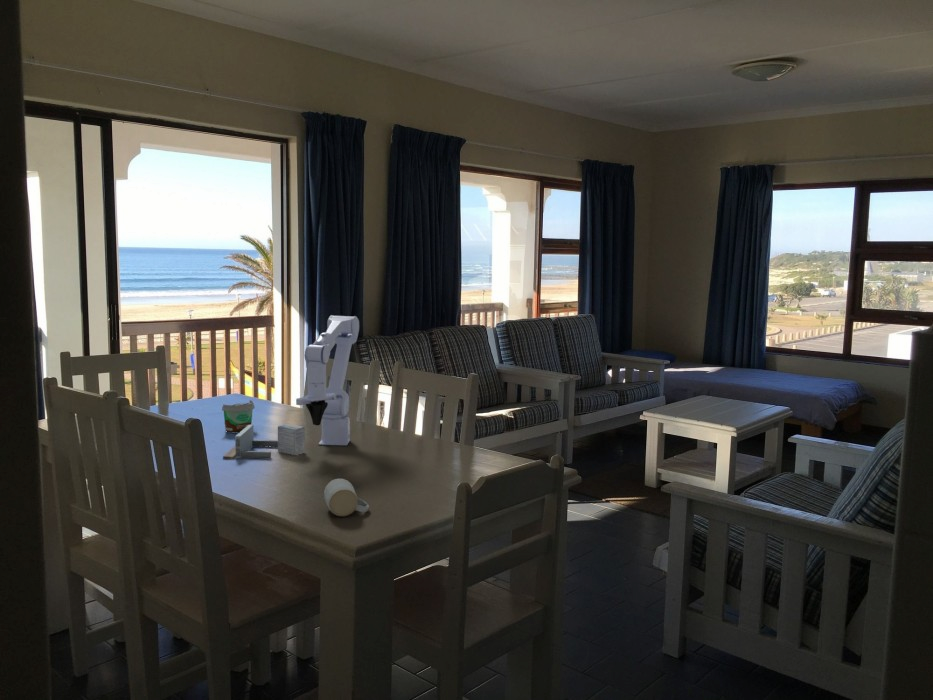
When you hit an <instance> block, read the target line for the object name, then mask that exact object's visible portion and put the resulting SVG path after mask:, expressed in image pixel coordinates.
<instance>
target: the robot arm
mask: <svg viewBox="0 0 933 700" xmlns="http://www.w3.org/2000/svg"><path fill="white" fill-rule="evenodd" d="M326 328H327V329H326V331H325V332H322V333H320V334H319V336H318V337H317V338H316V340H314V342H313V343H312V344H309V345H307V346H306V347H305V351H304V361H305V368H306V369H307V395H305V396H302V397H298V398H295V401H296V403H295V405H296V406H303V405H305V406H306V408H307V411H308V412H309V414H310V418H311V421H312V425H313V426H320V425H321V439H320V441H319V442H318V445H320V446H348V444H349V443H350V441H351V418H350V417H349V416H348V417H347V415H348V413H349V410H350V409H349V408H350V397H349V394H348V393H347V392H346V391H345V390H344V385H345V380H346V375H347V369H348V364H349V360H350V354H351V349H352V345H354V344H355V343H356V342H357V340H358V336H359V332H360V320H359V318H358V317H357V316H356V315H354V316H349V315H347V316H346V315H333V314H331V315H330V316H329V317H328V319H327V327H326ZM335 345H336V349H335V354H334V359H333V364H332V368H331V373H330V378H329V382H328V383H329V384H328V387H327V363H328V362H329V359H330V355H331V351H332V349H333V348H334V346H335Z"/></svg>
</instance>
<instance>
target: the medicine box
mask: <svg viewBox="0 0 933 700" xmlns="http://www.w3.org/2000/svg"><path fill="white" fill-rule="evenodd" d="M305 435H306V431H305V426H301V425H296V424H291V423H285V424H281V425H278V426H277V441H278V447H277V452H278V453H281V452H282V454H286V453H287V454H286V455H290V454H291V456H295V455H297V456H300V455H303V454H302V453H304V454H305V453H306V438H305V437H306V436H305ZM299 454H300V455H299Z"/></svg>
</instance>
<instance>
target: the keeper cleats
mask: <svg viewBox="0 0 933 700" xmlns="http://www.w3.org/2000/svg"><path fill="white" fill-rule="evenodd" d="M252 446H262V447H261V448H266V447H265V446H268V447H267V448H278V439H277V440H274V439H273V440H270V439H269V440H268V439H266V440H265V439H254V440H253V441H252ZM269 446H271V447H269ZM265 458H270V459H272V450H271V451H265V450H263V451H262V450H261V451H260V450H259V451H258V450H257V451H255V450H249V451H241V458H240V459H265Z"/></svg>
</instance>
